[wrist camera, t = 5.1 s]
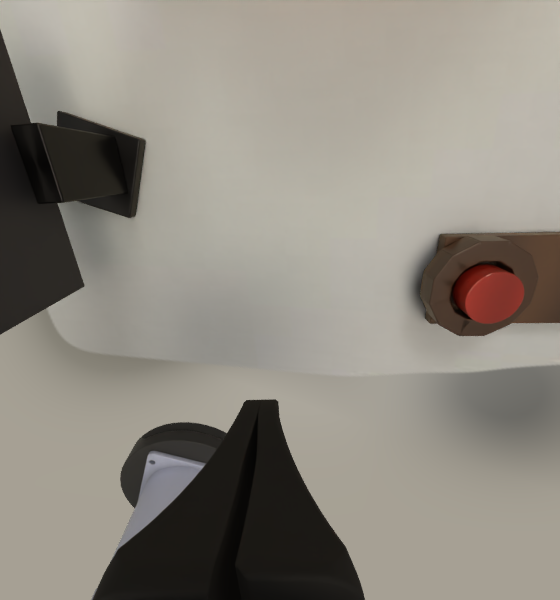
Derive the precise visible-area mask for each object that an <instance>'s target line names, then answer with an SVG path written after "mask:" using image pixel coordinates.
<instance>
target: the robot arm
mask: <svg viewBox="0 0 560 600" xmlns="http://www.w3.org/2000/svg"><path fill="white" fill-rule="evenodd" d="M91 600H365V598H364V594H363V590H362V587H361V583H360V580H359V578H358V575H357V572H356V570H355V568H354V565H353V563H352V561H351V558H350V556H349V554H348V551H347V549H346V547H345V545H344V544H343V543H342V541H341V540H340V539H339V537H338V536H337V534H336V533H335V532H334V530H333V529H332V528H331V526H330V525H329V523H328V522H327V520H326V519H325V517H324V515H323V514H322V512H321V511H320V509H319V508H318V506H317V504H316V502H315V501H314V499H313V498H312V496H311V494H310V492H309V491H308V489H307V487H306V485H305V483H304V481H303V479H302V477H301V475H300V473H299V471H298V469H297V467H296V465H295V463H294V460H293V458H292V455H291V453H290V450H289V448H288V445H287V442H286V439H285V436H284V433H283V430H282V426H281V422H280V418H279V407H278V401H277V400H246V401H245V402H244V404H243V406H242V408H241V410H240V412H239V414H238V416H237V418H236V419H235V421H234V423H233V425H232V426H231V428H230V429H229V431H228V433H227V434H226V436H225V437H224V439H223V441H222V442H221V444H220V445H219V446H218V448H217V449H216V451H215V452H214V453H213V455H212V456H211V458H210V459H209V460H208V462H207V463H202V462H198V461H194V460H190V459H186V458H182V457H178V456H174V455H170V454H166V453H162V452H158V451H151V452H149V454H148V456H147V461H146V466H145V470H144V475H143V480H142V484H141V489H140V494H139V498H138V503H137V505H136V507H135V510H134V512H133V514H132V516H131V518H130V520H129V523H128V525H127V527H126V529H125V531H124V534H123V536H122V538H121V540H120V542H119V545H118V547H117V549H116V551H115V554H114V556H113V558H112V560H111V562H110V564H109V566H108V567H107V569H106V571H105V573H104V575H103V577H102V579H101V582H100V584H99V586H98V588H97V589H96V590H95V592H94V595H93V597H92V599H91Z"/></svg>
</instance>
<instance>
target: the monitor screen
mask: <svg viewBox="0 0 560 600" xmlns="http://www.w3.org/2000/svg"><path fill="white" fill-rule="evenodd" d="M29 123H31V122H30V119H29V116H28V112H27V109H26V106H25V103H24V100H23V97H22V94H21V91H20V88H19V85H18V82H17V79H16V76H15V73H14V70H13V67H12V64H11V61H10V58H9V55H8V52H7V49H6V46H5V43H4V40H3V36H2V33H1V30H0V334H2V333H4V332H5V331H7V330H9V329H11V328H12V327H14V326H16V325H18V324H19V323H21V322H23V321H25V320H26V319H28V318H30V317H32V316H33V315H35V314H37V313H39V312H40V311H42V310H44V309H46V308H47V307H49V306H51V305H53V304H54V303H56V302H58V301H60V300H61V299H63V298H65V297H67V296H68V295H70V294H72V293H74V292H75V291H77V290H79V289H81V288H82V287H84V283H83V280H82V277H81V274H80V271H79V268H78V265H77V261H76V258H75V255H74V252H73V249H72V246H71V243H70V240H69V237H68V234H67V231H66V228H65V225H64V222H63V219H62V216H61V213H60V210H59V207H58V204H57V203H50V204H38V203H37V201H36V198H35V195H34V192H33V190H32V187H31V184H30V181H29V178H28V175H27V173H26V170H25V167H24V164H23V161H22V158H21V156H20V153H19V150H18V147H17V144H16V141H15V139H14V136H13V133H12V130H11V127H10V126H11V125H17V124H29Z"/></svg>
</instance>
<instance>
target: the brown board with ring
mask: <svg viewBox="0 0 560 600" xmlns="http://www.w3.org/2000/svg"><path fill="white" fill-rule="evenodd" d="M483 264H490V265H495V266H497V267H499V268H501V269H504V270H506V271H508V272H510V273H512V274H514V275H516V276H517V277H518V278H519V279H520V280H521V282H522V283H523V286H524V298H523V301H522V303H521V305H520V306H519V308H518V309H517V310H516V311H515V312H514V313H513V314H512V315H511V316H510V317H508V318H506V319H504V320H502V321H500V322H497V323H492V324H484V323H479V322H476V321H474V320H473V319H471V318H470V317H469V316H468V315H466V314H465V313H464V312H463V311H462V310H460V309H459V308H458V307H457V306H456V304H455V302H454V300H453V288H454V285H455V283H456V281H457V280H458V278H459V277H460V276H461V275H462V274H463V273H464V272H465V271H467V270H468V269H470V268H472V267H475V266H478V265H483ZM420 297H421V299H422V301H423V303H424V306H425V308H426V316H425V319H426V320H427V321H428V322H429V323H430V324H439V325H440V326H442V327H444V328H445V329H447V330H449V331H451V332H453V333H454V334H456V335H459V336H485V335H487V334H489V333H492V332H494V331H496V330H498V329H501V328H503V327H505V326H508V325H510V324H511V323H560V232H534V233H477V234H440V237H439V243H438V248H437V254H436V256H435V257H434V258H433V260H432V261H431V262H430V263H429V265H428V266H427V267H426V269H425V270H424V272H423V278H422V284H421V290H420Z"/></svg>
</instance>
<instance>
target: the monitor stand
mask: <svg viewBox="0 0 560 600" xmlns="http://www.w3.org/2000/svg"><path fill="white" fill-rule="evenodd" d="M10 127H11V130H12V133H13V136H14V139H15V141H16V144H17V147H18V150H19V153H20V156H21V158H22V161H23V164H24V167H25V170H26V173H27V175H28V178H29V181H30V184H31V187H32V190H33V192H34V195H35V198H36V201H37V203H38V204H50V203H64V202H71V201H78V202H81V203H84V204H88V205H91V206H94V207H97V208H100V209H103V210H106V211H109V212H113V213H116V214H119V215H122V216H125V217H128V218H131V217H134V216H135V215H136V208H137V200H138V193H139V185H140V178H141V170H142V163H143V156H144V148H145V140H144V139H141V138H138V137H135V136H133V135H130V134H127V133H124V132H121V131H118V130H115V129H112V128H109V127H107V126H104V125H101V124H98V123H95V122H92V121H89V120H86V119H83V118H81V117H78V116H75V115H72V114H69V113H66V112H62V111H58V112H57V126H52V125H47V124H41V123H29V124H17V125H11V126H10Z"/></svg>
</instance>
